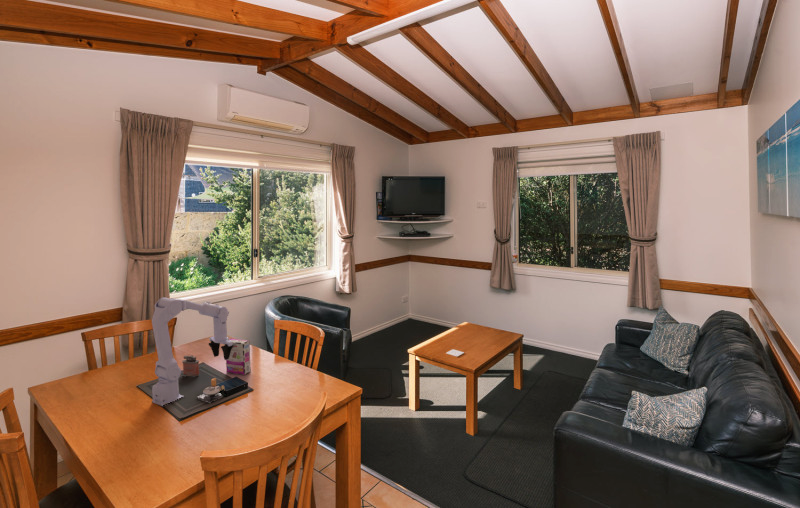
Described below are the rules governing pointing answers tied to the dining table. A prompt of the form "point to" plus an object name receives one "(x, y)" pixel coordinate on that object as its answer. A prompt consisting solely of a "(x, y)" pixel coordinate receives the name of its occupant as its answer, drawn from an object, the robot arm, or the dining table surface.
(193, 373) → the lighter
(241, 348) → the candy bar box
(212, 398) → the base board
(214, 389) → the flange plate
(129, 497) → the dining table surface
